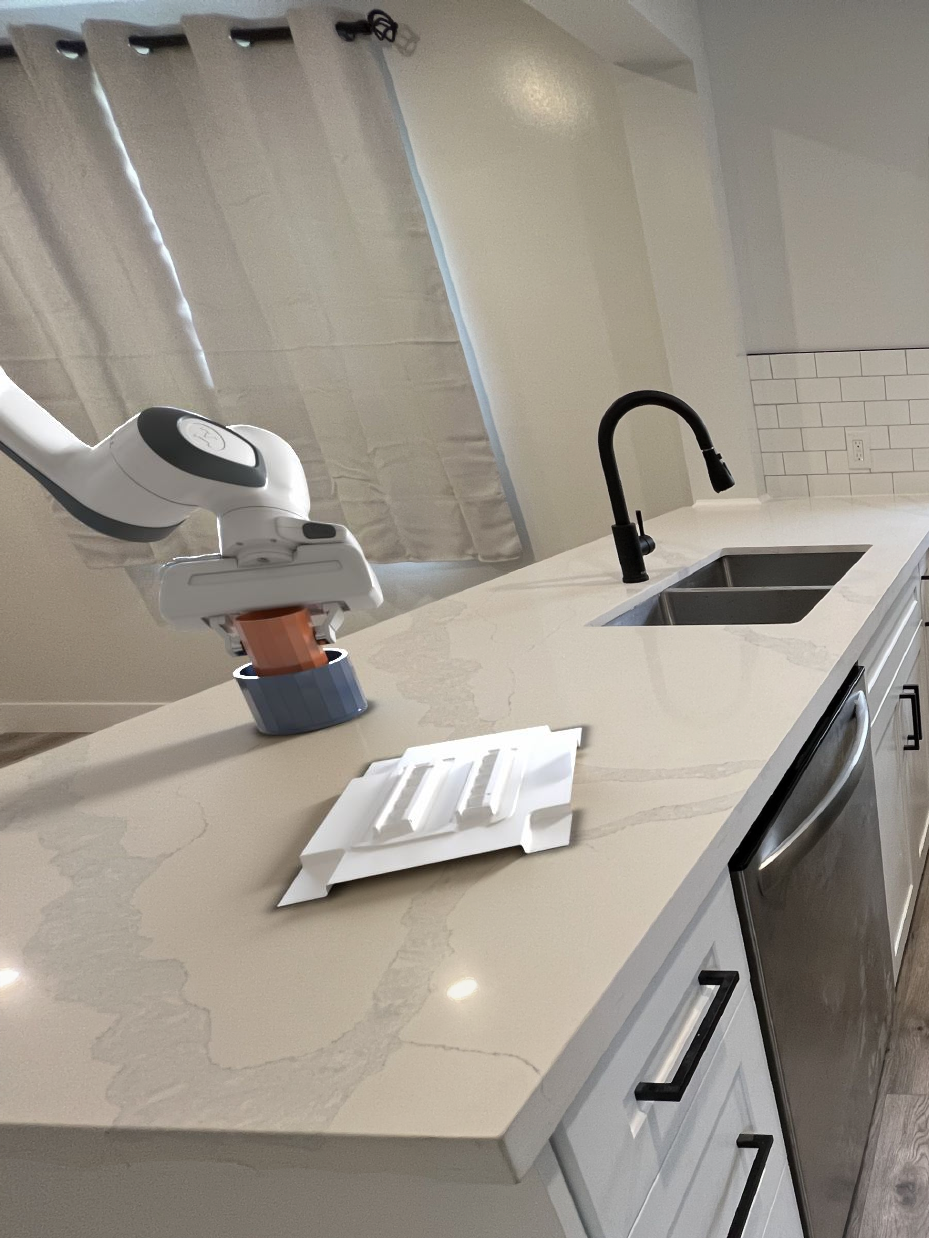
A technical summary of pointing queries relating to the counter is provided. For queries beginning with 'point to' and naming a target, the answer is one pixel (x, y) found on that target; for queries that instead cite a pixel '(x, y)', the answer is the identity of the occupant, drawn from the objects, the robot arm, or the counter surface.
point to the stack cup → (303, 696)
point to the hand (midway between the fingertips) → (283, 647)
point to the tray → (445, 807)
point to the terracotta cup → (280, 640)
